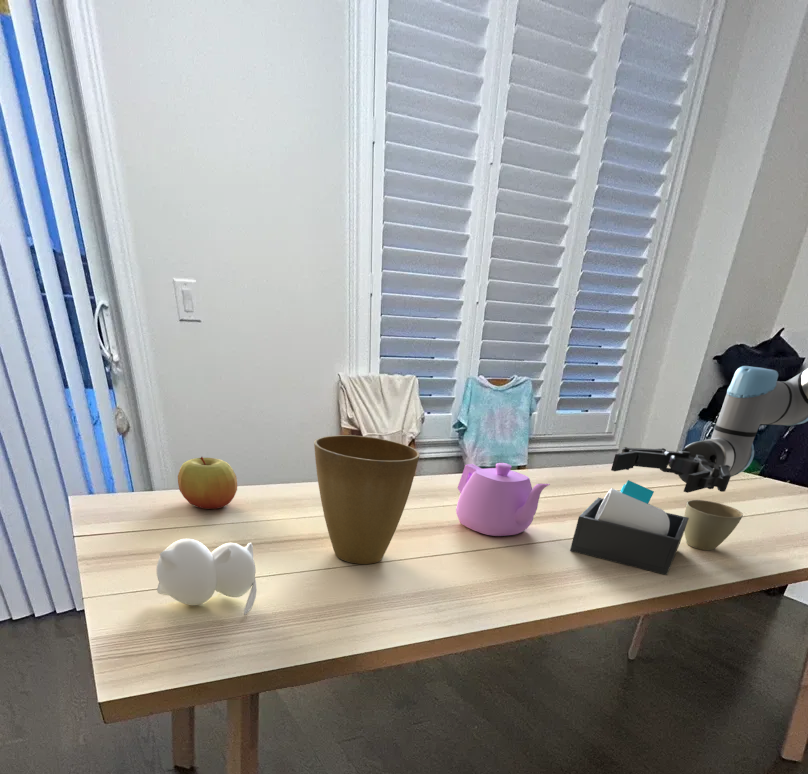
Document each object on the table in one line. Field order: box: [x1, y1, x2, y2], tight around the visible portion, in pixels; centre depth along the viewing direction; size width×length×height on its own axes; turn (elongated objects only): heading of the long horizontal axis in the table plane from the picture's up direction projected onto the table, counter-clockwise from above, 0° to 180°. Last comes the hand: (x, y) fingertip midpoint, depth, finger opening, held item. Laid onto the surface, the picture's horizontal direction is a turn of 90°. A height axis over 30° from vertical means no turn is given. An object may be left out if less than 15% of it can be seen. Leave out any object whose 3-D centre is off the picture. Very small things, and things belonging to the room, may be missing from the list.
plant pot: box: [313, 434, 421, 565], centre depth 94 cm, size 15×15×16 cm
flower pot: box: [683, 499, 744, 551], centre depth 119 cm, size 10×10×7 cm
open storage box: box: [569, 497, 689, 576], centre depth 112 cm, size 17×16×6 cm
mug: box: [594, 479, 670, 536], centre depth 111 cm, size 12×9×12 cm
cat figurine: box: [156, 538, 258, 617], centre depth 77 cm, size 9×11×12 cm
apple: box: [177, 456, 238, 510], centre depth 108 cm, size 10×10×8 cm
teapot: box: [455, 462, 551, 537], centre depth 113 cm, size 13×20×11 cm
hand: (650, 472), depth 106 cm, fingers open, 13 cm apart
